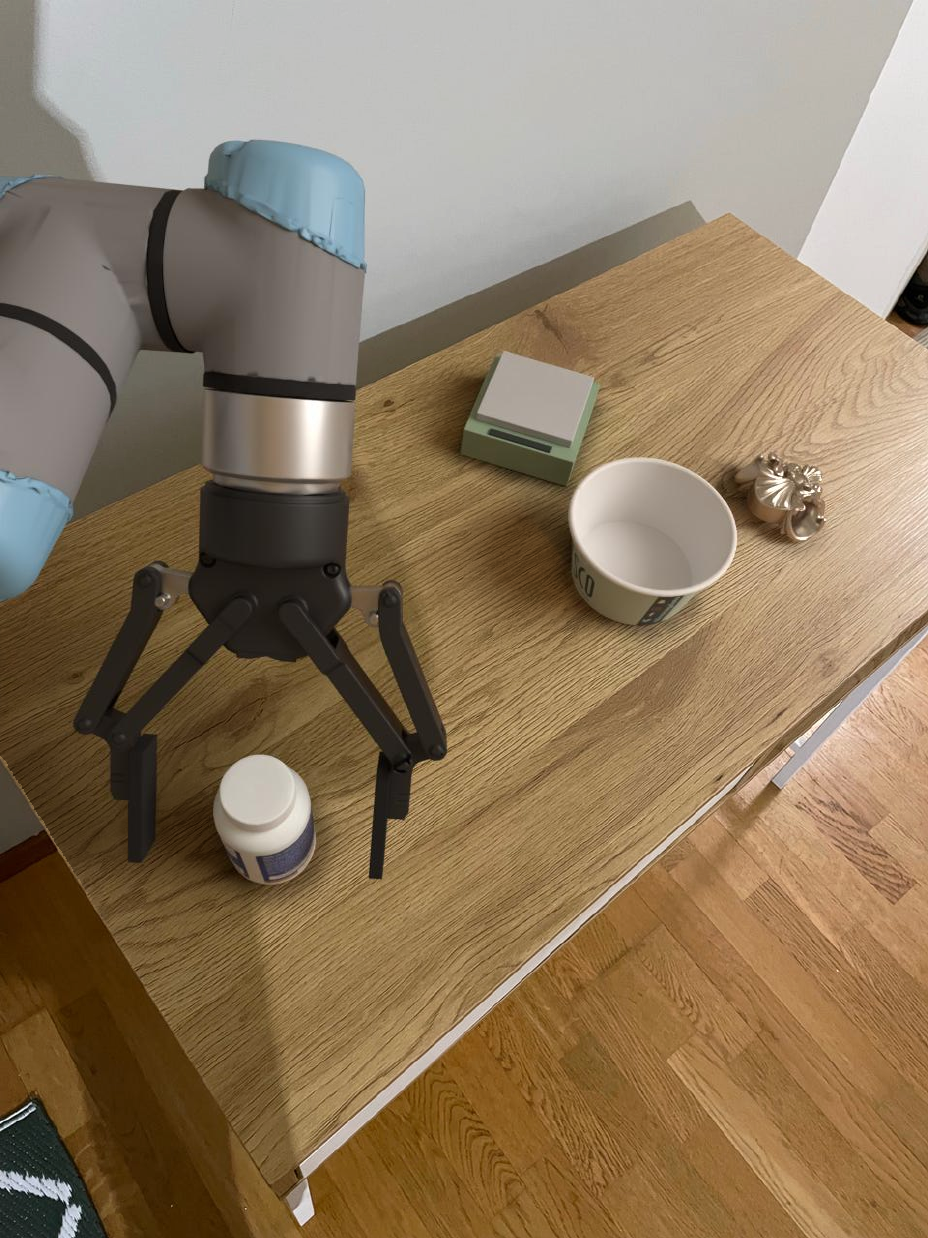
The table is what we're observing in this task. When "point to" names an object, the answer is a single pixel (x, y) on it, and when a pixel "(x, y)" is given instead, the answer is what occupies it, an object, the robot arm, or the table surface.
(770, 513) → the ornament
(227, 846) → the pill bottle
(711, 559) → the food container
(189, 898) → the table surface
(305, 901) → the table surface
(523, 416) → the scale
